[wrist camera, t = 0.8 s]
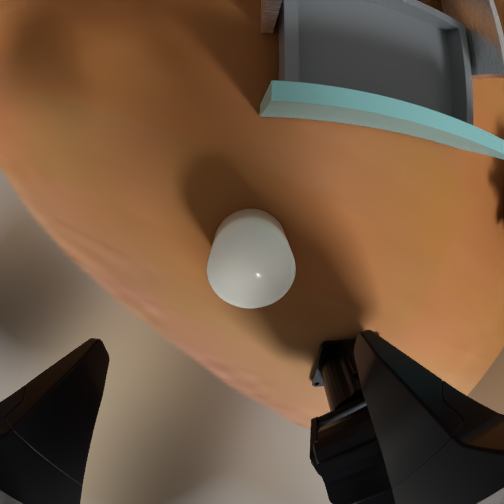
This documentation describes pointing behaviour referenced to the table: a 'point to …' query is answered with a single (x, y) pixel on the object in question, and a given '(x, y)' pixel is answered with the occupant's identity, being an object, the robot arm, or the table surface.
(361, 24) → the drawer
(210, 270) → the grey rounded tapered piece
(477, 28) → the dock
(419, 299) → the table surface
